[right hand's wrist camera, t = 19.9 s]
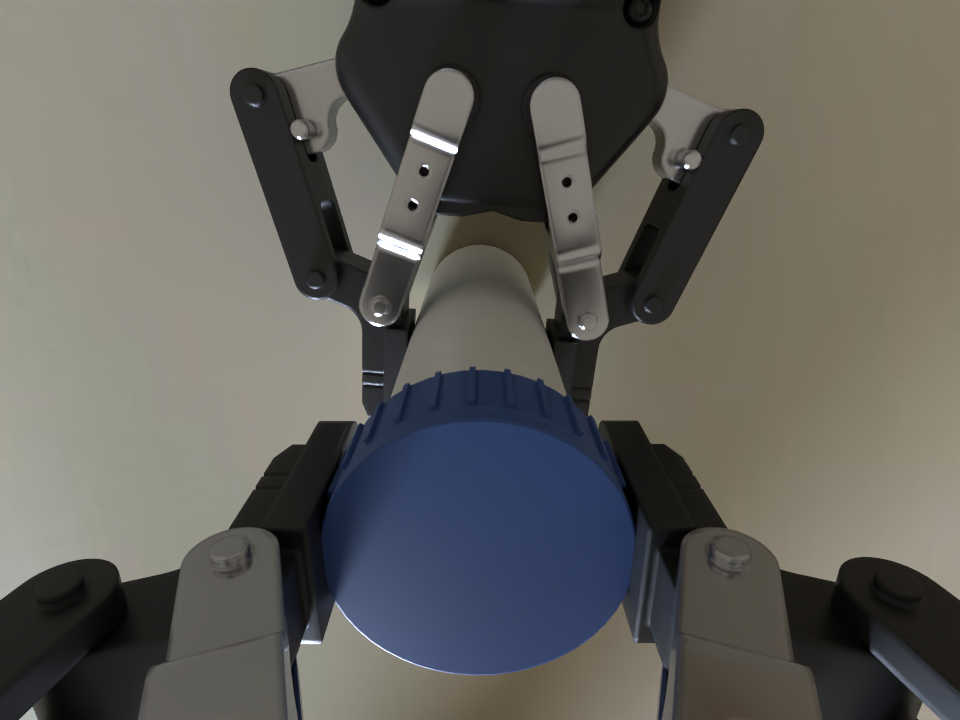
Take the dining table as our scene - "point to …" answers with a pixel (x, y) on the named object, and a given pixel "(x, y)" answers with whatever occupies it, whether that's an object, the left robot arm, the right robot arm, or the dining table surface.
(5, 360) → the dining table surface
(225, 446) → the dining table surface
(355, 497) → the lid
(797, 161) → the dining table surface
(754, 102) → the dining table surface
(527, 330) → the bottle
